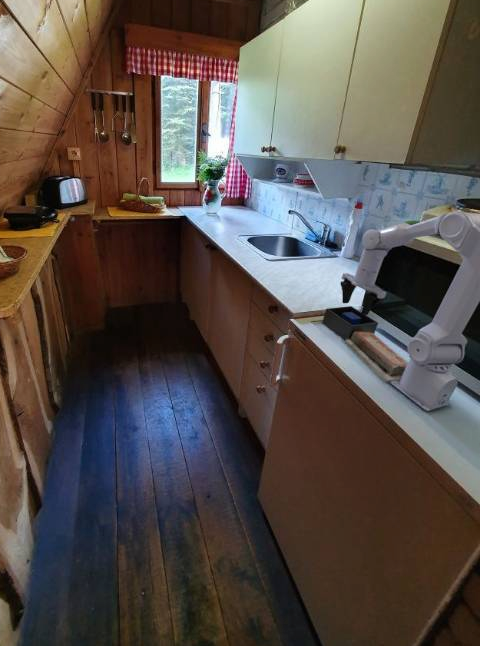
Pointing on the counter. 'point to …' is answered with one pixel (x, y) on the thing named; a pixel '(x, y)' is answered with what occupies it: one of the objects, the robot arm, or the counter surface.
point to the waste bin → (345, 328)
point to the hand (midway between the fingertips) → (354, 308)
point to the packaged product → (377, 356)
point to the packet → (351, 318)
